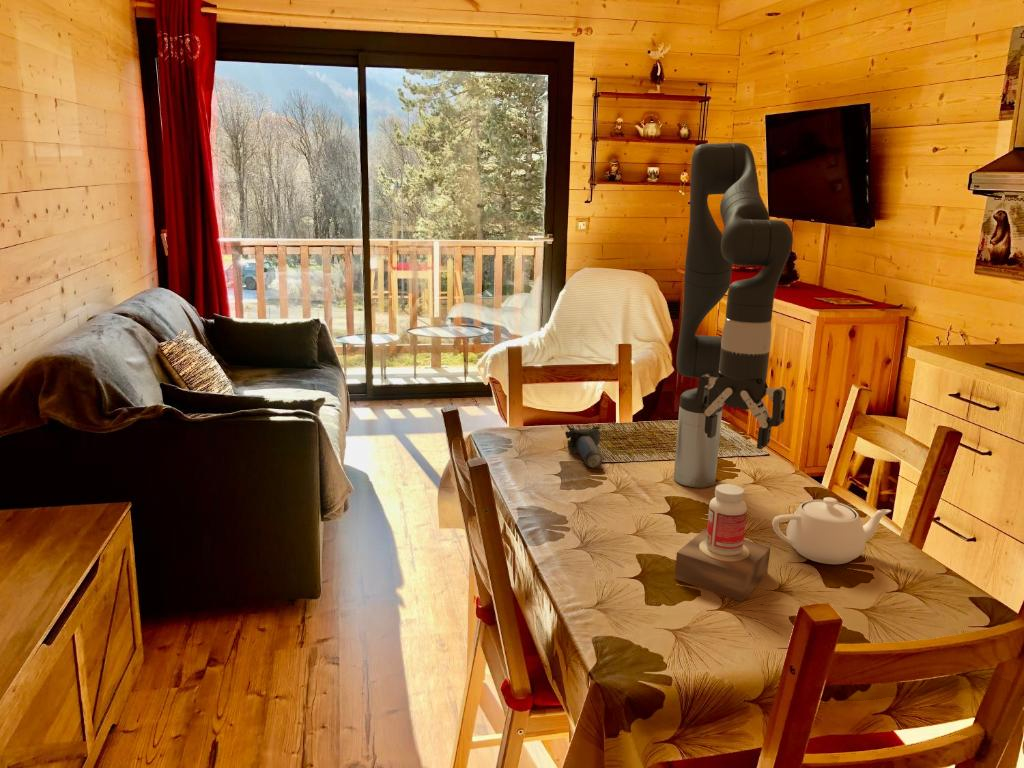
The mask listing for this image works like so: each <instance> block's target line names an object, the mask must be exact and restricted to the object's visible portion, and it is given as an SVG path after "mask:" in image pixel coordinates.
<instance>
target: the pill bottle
mask: <svg viewBox="0 0 1024 768" xmlns="http://www.w3.org/2000/svg"><path fill="white" fill-rule="evenodd" d="M714 490H715V491H714V496H715V497H713V498H712V499H710V502H709V507H708V514H707V515H708V516H707V527H706V529H707V537H706V546H707V548H708V549H709V550H710V551H712V552H714V553H716V554H719V555H724V556H732V555H737V554H739V553H740V552H741V551H742V549H743V541H744V540H745V529H746V520H747V511H748V510H747V509H748V507H747V504H746V503H745V501H744V499H745V498H744V497H745V489H744V488H743V487H741V486H738V485H735V484H731V483H729V484H728V483H721V484H717V485H716V486H715V489H714Z"/></svg>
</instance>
